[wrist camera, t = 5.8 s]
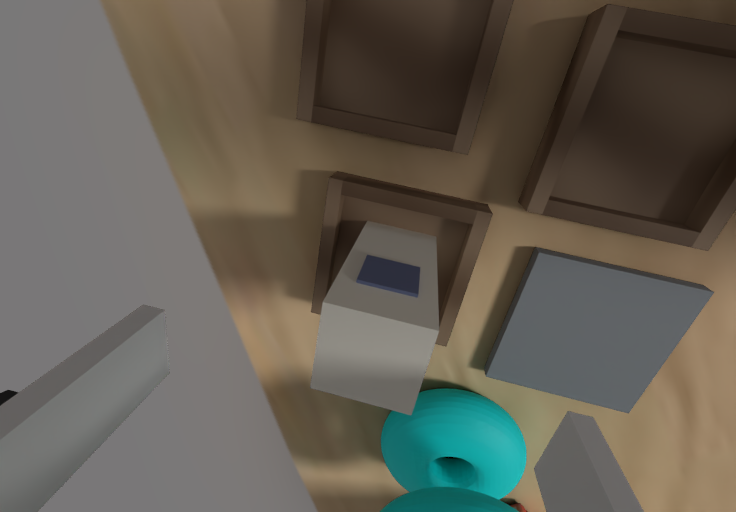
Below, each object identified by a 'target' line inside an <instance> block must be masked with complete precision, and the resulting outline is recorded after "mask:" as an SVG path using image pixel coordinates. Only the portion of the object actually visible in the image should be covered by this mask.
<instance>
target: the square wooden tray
mask: <svg viewBox="0 0 736 512" xmlns="http://www.w3.org/2000/svg"><path fill="white" fill-rule="evenodd" d="M492 215H493V214H492V212H491V210H490V208H489V206H488V204H483V203H479V202H474V201H470V200H465V199H460V198H456V197H451V196H447V195H442V194H438V193H433V192H429V191H424V190H420V189H415V188H411V187H406V186H401V185H397V184H392V183H388V182H383V181H379V180H374V179H370V178H365V177H361V176H356V175H351V174H347V173H342V172H338V171H337V172H336V173H335V174H333V175H332V176H330V177H329V181H328V189H327V196H326V204H325V211H324V219H323V226H322V234H321V241H320V249H319V256H318V264H317V272H316V279H315V287H314V294H313V302H312V309H311V312H312V313H316V314H320V315H321V310H322V303H323V300H324V299H325V297H326V295H327V293H328V291H329V290H330V288H331V286H332V284H333V282H334V280H335V279H336V277H337V275H338V273H339V271H340V270H341V268H342V266H343V264H344V262H345V260H346V259H347V257H348V255H349V253H350V251H351V249H352V248H353V246H354V244H355V242H356V240H357V239H358V237H359V235H360V233H361V231H362V229H363V228H364V226H365V224H366V222H367V221H371V222H375V223H380V224H384V225H388V226H393V227H397V228H401V229H406V230H410V231H414V232H419V233H423V234H427V235H432V236H436V243H437V275H438V308H439V333H438V336H437V339H436V342H435V344H438V345H442V346H447V343H448V340H449V338H450V335H451V332H452V329H453V326H454V323H455V320H456V318H457V315H458V312H459V309H460V306H461V303H462V300H463V297H464V295H465V292H466V289H467V286H468V283H469V280H470V277H471V275H472V272H473V269H474V266H475V263H476V260H477V257H478V255H479V252H480V249H481V246H482V243H483V240H484V237H485V235H486V232H487V229H488V226H489V223H490V220H491V217H492Z"/></svg>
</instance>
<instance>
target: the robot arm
mask: <svg viewBox="0 0 736 512" xmlns="http://www.w3.org/2000/svg"><path fill="white" fill-rule="evenodd" d="M169 373H170V371H169V358H168V345H167V333H166V320H165V310H163V309H159V308H155V307H151V306H147V305H142V306H140V307H139V308H138V309H136V310H135V311H133V312H132V313H130V314H129V315H128V316H126V317H125V318H124V319H122V320H121V321H119V322H118V323H117V324H115V325H114V326H112V327H111V328H109V329H108V330H107V331H105V332H104V333H102V334H101V335H99V336H98V337H97V338H96V339H94V340H93V341H91V342H90V343H88V344H87V345H85V346H84V347H83V348H81V349H80V350H78V351H77V352H75V353H74V354H73V355H71V356H70V357H68V358H67V359H66V360H64V361H63V362H61V363H60V364H59V365H57V366H56V367H54V368H53V369H51V370H50V371H49V372H47V373H46V374H44V375H43V376H42V377H40V378H39V379H37V380H36V381H35V382H33V383H32V384H30V385H29V386H28V387H26V388H25V389H23V390H22V391H20V392H19V393H18V392H14V391H11V390H7V391H4V392H2V393H0V512H38V511H39V510H40V509H41V508H42V507H43V506H44V504H45V503H46V502H47V501H48V500H49V499H50V498H51V497H52V496H53V495H54V494H55V493H56V492H57V491H58V490H59V489H60V488H61V487H62V486H63V485H64V483H65V482H66V481H67V480H68V479H69V478H70V477H71V476H72V475H73V474H74V473H75V472H76V471H77V470H78V469H79V468H80V467H81V466H82V464H84V462H85V461H86V460H87V459H88V458H89V457H90V456H91V455H92V454H93V453H94V452H95V451H96V450H97V449H98V448H99V447H100V446H101V445H102V444H103V443H104V441H105V440H106V439H107V438H108V437H109V436H110V435H111V434H112V433H113V432H114V431H115V430H116V429H117V428H118V427H119V426H120V425H121V424H122V423H123V421H124V420H125V419H126V418H127V417H128V416H129V415H130V414H131V413H132V412H133V411H134V410H135V409H136V408H137V407H138V406H139V405H140V403H142V401H143V400H144V399H145V398H146V397H147V396H148V395H149V394H150V393H151V392H152V391H153V390H154V389H155V388H156V387H157V386H158V385H159V384H160V383H161V382H162V380H163V379H165V377H166V376H167V375H168V374H169ZM534 471H535V474H536V478H537V481H538V485H539V488H540V491H541V495H542V498H543V501H544V505H545V508H546V512H644V511H643V509H642V507H641V506H640V504H639V502H638V500H637V498H636V496H635V494H634V492H633V491H632V489H631V487H630V485H629V483H628V481H627V479H626V478H625V476H624V474H623V472H622V470H621V468H620V466H619V464H618V463H617V461H616V459H615V457H614V455H613V453H612V451H611V449H610V448H609V446H608V444H607V442H606V440H605V438H604V436H603V435H602V433H601V431H600V429H599V427H598V425H597V423H596V421H595V420H594V418H593V417H590V416H586V415H582V414H578V413H574V412H570V411H568V412H567V413H566V415H565V417H564V418H563V420H562V422H561V423H560V425H559V427H558V429H557V430H556V432H555V434H554V435H553V437H552V439H551V440H550V442H549V444H548V445H547V447H546V449H545V451H544V452H543V454H542V456H541V457H540V459H539V461H538V462H537V464H536V466H535V468H534Z"/></svg>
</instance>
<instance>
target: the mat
mask: <svg viewBox="0 0 736 512" xmlns="http://www.w3.org/2000/svg"><path fill="white" fill-rule="evenodd" d="M713 293H714V292H713V291H711V290H710V289H708V288H707V287H705V286H704V285H701V284H696V283H692V282H688V281H683V280H679V279H674V278H670V277H666V276H661V275H657V274H652V273H648V272H644V271H639V270H635V269H630V268H626V267H622V266H617V265H613V264H608V263H604V262H600V261H595V260H591V259H586V258H582V257H577V256H573V255H569V254H564V253H560V252H555V251H551V250H547V249H542V248H538V247H535V249H534V251H533V254H532V256H531V258H530V261H529V263H528V266H527V268H526V270H525V273H524V275H523V277H522V280H521V282H520V284H519V287H518V289H517V292H516V294H515V296H514V299H513V301H512V303H511V306H510V308H509V310H508V313H507V315H506V318H505V320H504V322H503V325H502V327H501V329H500V332H499V334H498V336H497V339H496V341H495V344H494V346H493V348H492V351H491V353H490V355H489V358H488V360H487V363H486V365H485V367H484V370H485V375H486V377H490V378H493V379H497V380H501V381H505V382H509V383H513V384H517V385H521V386H524V387H528V388H532V389H536V390H540V391H544V392H548V393H552V394H555V395H559V396H563V397H567V398H571V399H575V400H579V401H583V402H586V403H590V404H594V405H598V406H602V407H606V408H610V409H614V410H617V411H621V412H625V413H629V412H630V411H631V409H632V408H633V406H634V405H635V404H636V402H637V401H638V399H639V398H640V396H641V395H642V394H643V392H644V391H645V389H646V388H647V387H648V385H649V384H650V382H651V381H652V379H653V378H654V377H655V375H656V374H657V372H658V371H659V370H660V368H661V367H662V365H663V364H664V362H665V361H666V360H667V358H668V357H669V355H670V354H671V353H672V351H673V350H674V348H675V347H676V345H677V344H678V343H679V341H680V340H681V338H682V337H683V336H684V334H685V333H686V331H687V330H688V328H689V327H690V326H691V324H692V323H693V321H694V320H695V319H696V317H697V316H698V314H699V313H700V312H701V310H702V309H703V307H704V306H705V304H706V303H707V302H708V300H709V299H710V297H711V296H712V295H713Z"/></svg>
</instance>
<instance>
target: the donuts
mask: <svg viewBox="0 0 736 512" xmlns="http://www.w3.org/2000/svg"><path fill="white" fill-rule="evenodd" d="M381 449H382V454H383V458H384V461H385V463H386V466H387V467H388V469H389V471H390V472H391V474H392V475H393V477H394V478H395V479H396V480H397V482H398V483H399V484H400V485H401V486H403V487H404V488H405V489H406V490H407V491H409V493H407V494H404V495H402V496H400V497H398V498H396V499H395V500H393V501H391V502H390V503H389V504H388V505H386V506H385V507H384V508H383V509H382V510H381V511H380V512H519V511H517V510H516V509H514V508H513V507H511V506H509V505H508V504H506V503H504V502H502V501H500V499H501V498H503V497H504V496H506V495H507V494H508V493H510V492H511V491H512V490H513V489H514V488H515V486H516V485H517V484H518V482H519V481H520V479H521V477H522V475H523V473H524V469H525V465H526V445H525V441H524V438H523V435H522V433H521V431H520V429H519V427H518V426H517V424H516V422H515V421H514V420H513V418H512V417H511V416H510V415H509V414H508V413H507V412H506V411H505V410H504V409H503V408H501V407H500V406H499V405H497V404H496V403H495V402H493V401H491V400H490V399H488V398H486V397H484V396H481V395H479V394H476V393H473V392H469V391H465V390H459V389H449V388H442V389H431V390H426V391H422V392H419V394H418V397H417V400H416V403H415V406H414V409H413V412H412V415H408V414H404V413H400V412H397V411H393V410H392V411H391V412H390V414H389V415H388V417H387V419H386V421H385V423H384V426H383V429H382V435H381ZM444 457H458V459H450V458H444Z"/></svg>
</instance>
